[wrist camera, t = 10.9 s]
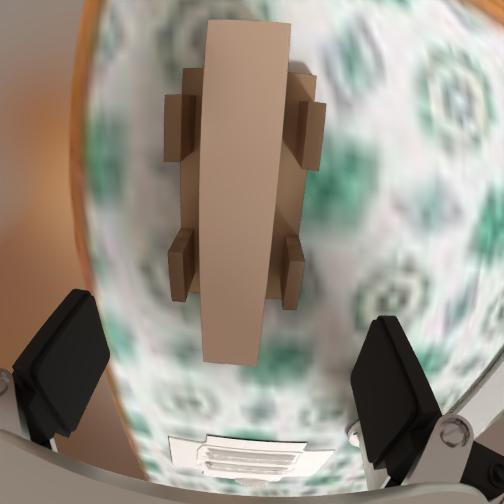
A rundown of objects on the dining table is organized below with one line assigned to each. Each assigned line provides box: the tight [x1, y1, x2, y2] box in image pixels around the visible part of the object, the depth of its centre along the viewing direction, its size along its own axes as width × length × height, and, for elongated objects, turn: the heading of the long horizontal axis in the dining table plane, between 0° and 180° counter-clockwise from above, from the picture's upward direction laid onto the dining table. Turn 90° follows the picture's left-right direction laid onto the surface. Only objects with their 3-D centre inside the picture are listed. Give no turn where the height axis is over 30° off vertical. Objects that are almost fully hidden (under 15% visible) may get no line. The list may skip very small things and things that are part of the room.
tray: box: [169, 436, 335, 489], centre depth 45 cm, size 20×28×4 cm
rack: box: [164, 68, 326, 310], centre depth 21 cm, size 9×18×5 cm, turn 176°
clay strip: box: [199, 20, 291, 366], centre depth 19 cm, size 4×22×6 cm, turn 176°
